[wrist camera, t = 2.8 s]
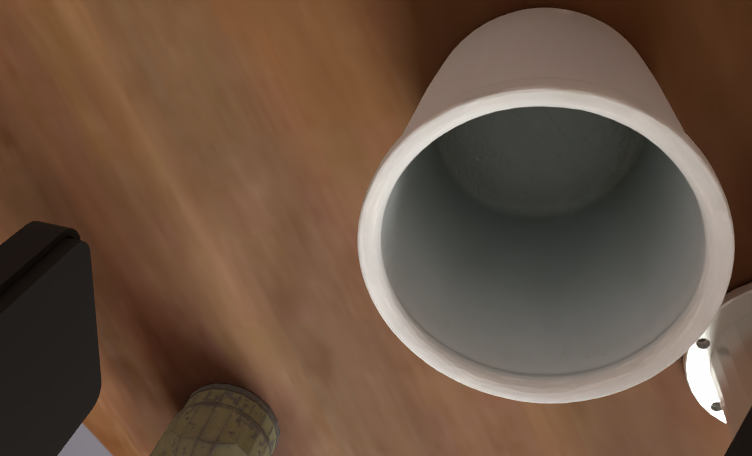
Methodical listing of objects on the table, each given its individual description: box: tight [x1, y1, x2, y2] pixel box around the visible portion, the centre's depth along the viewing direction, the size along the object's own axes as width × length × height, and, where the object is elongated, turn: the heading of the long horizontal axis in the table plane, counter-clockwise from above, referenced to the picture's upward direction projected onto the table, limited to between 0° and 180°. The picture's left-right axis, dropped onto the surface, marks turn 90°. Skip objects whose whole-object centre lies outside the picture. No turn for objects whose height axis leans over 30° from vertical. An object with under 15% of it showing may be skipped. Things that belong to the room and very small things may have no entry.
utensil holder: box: [358, 8, 735, 403], centre depth 36 cm, size 15×15×18 cm
